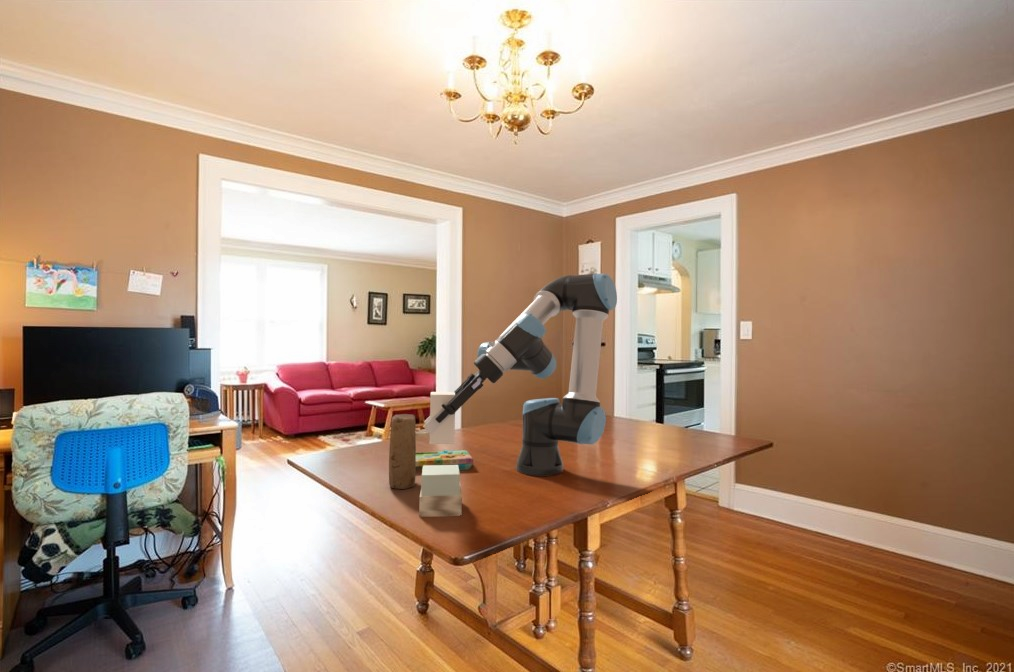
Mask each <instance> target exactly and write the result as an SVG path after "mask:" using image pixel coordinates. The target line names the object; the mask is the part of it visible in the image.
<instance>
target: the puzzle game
mask: <svg viewBox="0 0 1014 672" xmlns="http://www.w3.org/2000/svg"><path fill="white" fill-rule="evenodd" d="M473 464H474V458H473V457H472V456H471V454H470V453H469V452H468V451H467V450H465V449H464V450H463V449H461V450H448V449H446V450H443V451H429V452H427V451H426V452H416V468H417V467H419V468H420V470H421V471H422V469H423V465H458V467H459V471H462V470H463V471H464V470H469V469H471V467H472V466H473Z"/></svg>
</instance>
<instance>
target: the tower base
mask: <svg viewBox="0 0 1014 672" xmlns="http://www.w3.org/2000/svg"><path fill="white" fill-rule="evenodd" d="M421 490H422V484H421V486H420V493H419V503H418V504H419V507H418V508H419V510H418V512H419V513H418V516H419V517H421V518H423V517H424V518H425V517H429V518H430V517H460V515H461V516H462V512H463V511H462V510H463V509H462V507H463V505H462V504H463V503H462V502H463V500H462V499H463V498H462V497H463V496H462V494H463V493H462V484H461V483H459V495H450V496H421ZM419 517H418V518H419Z"/></svg>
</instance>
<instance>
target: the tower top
mask: <svg viewBox="0 0 1014 672" xmlns="http://www.w3.org/2000/svg"><path fill="white" fill-rule="evenodd" d="M460 479H461V478H460V470H459V467H458V465H423V469H422V470H421V485H422V490H421V489H420V491H421V496H450V495H459V484H461V483H460V481H461V480H460Z"/></svg>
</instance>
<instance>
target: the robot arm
mask: <svg viewBox="0 0 1014 672" xmlns="http://www.w3.org/2000/svg"><path fill="white" fill-rule="evenodd" d="M617 304H618V294H617V289H616V285H615V282H614V280H613V278H612V277H611V276H610V275H609V274H607V273H596V272H595V273H588V274H573V275H571V274H570V275H569V274H568V275H563V276H560V277H557V278H556V279H554V280H551V281H550V282H549V283H547V284H545V286H543V287H542V288H541V289H540V290H538V292H536V294H535V295H534V296H533V301H532V302H531V303H530V304H529V305H528V306H527V307H526V308H525V309H524V310H523V311H522V313H520V314H519V315H518V317H516V319H515V320H513V321H512V323H511V324H510V325H508V327H507V328H506V329H505V330H504V331H503V332H502V333H501V334H500V335H499V336H498V337H497V338H496V339H495V340H494V341H487V342H486V341H485V342H482V343H481V344H480V345H479V347H478V350H477V354H476V356H477V358H476V359H475V360H474V361H473V365H474V366H475V367H476V368H477V369H478V370H477V371H476V372H475V373H474V374H473V373H472V372H471V373H470V374H468V376H467V378H466V379H465V380H464V381H463V382H461V384H460V386H458V387H457V388H456V389H455V390H454V391H453V392H455V397H454V398H453V399H452V400H451V401H450V402H449V403H448V404H447V405H444V404H442V408H441V409H440V410H439V411H438V412H437V413H436V414H435V415H434V416H433V417H432V418H431V419H430V415H429V416H428V417H427V418H426V419H425V420H424V421H423V423H424V425H423V426H422V427H423V428H424V430H425V431H426V432H428V433H429V435H430V434H432V433H433V432H434V431H435V430H436V429H437V428H438V427H439V426H440V425H441V424H442V423H443V422H444V421H445V420H446V419H447V418H448V417H450V416H451V415H452V414H455V415H456V413H457V411H458V410H459V409H461V408H462V406H463V405H465V403H467V401H468V400H469V399H470V398H471V397H472V396H474V394H475V393H477V392H478V391H479V390H481V388H482V387H484V384H483V383H484V382H485V380H487V379H488V381H490V382H491V383H492V384H495V383H497V382H498V380H499V379H501V378H502V377H503V375H504V373H508V371H509V370H513V371H524V372H525V371H526V372H530V373H531V374H532V375H533V376H534V377H535V378H538V379H545V378H548V377H550V376H552V374H553V373H554V372H555V371H556V368H557V360H556V358H555V355H554V354H553V352H552V351H551V350H550V349H549V347H548V345H546V343H545V341H544V340H543V339H542V338H543V337H544V335H545V334H546V332H547V329H546V327H545V326H544V325H545V324H546V323H547V322H548V321H549V320H550V318H552V317H555V316H557V315H558V314H559V313H560V312H564V311H571V313H572V316H573V317H574V318H575V326H574V327H575V328H574V336H573V337H574V339H573V346H572V353H571V354H572V355H571V356H572V357H571V365H570V374H569V384H568V392H567V393H566V394H565V395H564V396H563V397H562V403H560V400H559V398H558V397H548V398H536V399H530V400H529V399H528V400H526V401H525V402H524V403H523V407H522V415H521V416H522V432H521V433H522V434H521V435H522V437H521V438H522V439H521V440H522V442H521V445H522V446H521V449H520V451H519V454H518V458H517V460H516V471H518V472H519V473H521V474H525V475H528V476H529V475H530V476H537V477H545V476H546V477H547V476H548V475H549V476H555V474H556V475H559V474H558V473H560V472H562V471H563V472H564V462H563V460H562V459H563V458H562V456H561V453H560V449H559V441H560V442H566V443H572V444H579V445H589V446H590V445H594V444H596V443H597V442H598V441H599V440H601V437H602V436H603V434H604V431H605V428H606V423H607V422H606V421H607V417H606V416H607V414H606V411H605V409H604V408H603V407H601V401H600V400H599V398H598V397H597V389H598V388H597V387H598V378H599V367H600V357H601V347H602V346H601V345H602V336H603V326H604V321H606V319H608V318H609V314H610V311H612V310H614V309H615V308H616V306H617ZM563 472H562V473H563ZM560 474H561V473H560Z"/></svg>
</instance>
